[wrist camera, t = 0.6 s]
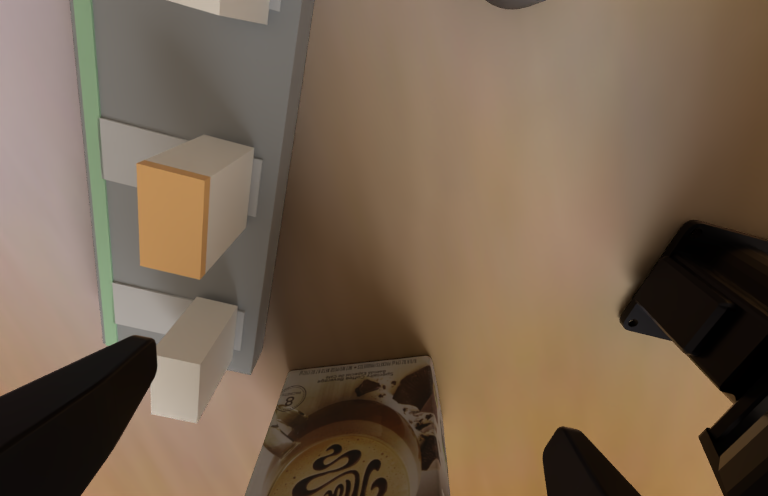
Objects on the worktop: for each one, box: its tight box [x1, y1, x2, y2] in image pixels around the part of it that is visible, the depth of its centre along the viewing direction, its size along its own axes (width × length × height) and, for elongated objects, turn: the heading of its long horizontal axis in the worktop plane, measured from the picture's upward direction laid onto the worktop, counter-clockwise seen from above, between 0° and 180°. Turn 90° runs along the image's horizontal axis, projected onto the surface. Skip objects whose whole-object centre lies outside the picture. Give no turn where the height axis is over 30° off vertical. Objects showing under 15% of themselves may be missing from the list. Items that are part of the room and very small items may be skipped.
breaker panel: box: [70, 0, 315, 375], centre depth 17 cm, size 8×22×2 cm, turn 165°
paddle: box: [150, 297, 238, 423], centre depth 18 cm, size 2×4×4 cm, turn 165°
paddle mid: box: [136, 135, 254, 280], centre depth 14 cm, size 2×4×4 cm, turn 165°
